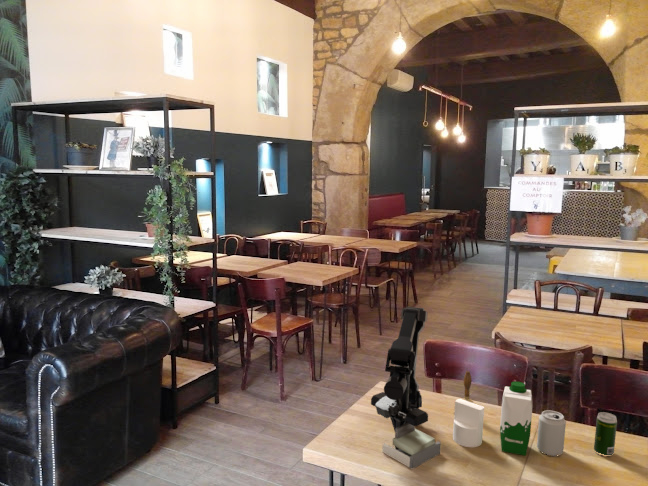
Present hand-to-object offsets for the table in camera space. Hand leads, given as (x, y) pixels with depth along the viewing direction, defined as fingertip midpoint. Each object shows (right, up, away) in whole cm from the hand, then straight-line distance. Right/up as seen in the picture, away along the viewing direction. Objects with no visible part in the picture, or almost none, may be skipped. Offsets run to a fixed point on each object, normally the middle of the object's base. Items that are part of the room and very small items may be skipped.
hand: (397, 434), depth 163 cm
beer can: (+63, -5, -2) cm, 63 cm away
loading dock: (+4, -4, -3) cm, 6 cm away
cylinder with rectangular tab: (+23, -4, +5) cm, 24 cm away
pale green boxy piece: (+4, -3, -4) cm, 7 cm away
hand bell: (+27, -1, +21) cm, 34 cm away
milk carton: (+36, -5, 0) cm, 36 cm away
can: (+47, -5, -1) cm, 47 cm away
